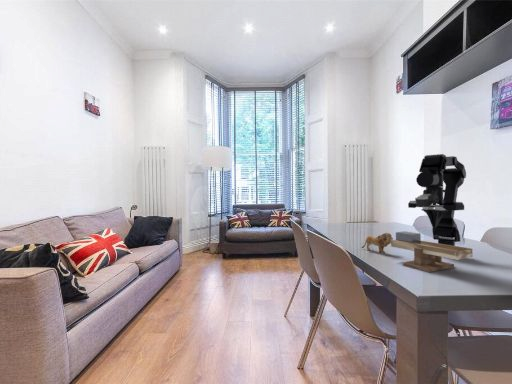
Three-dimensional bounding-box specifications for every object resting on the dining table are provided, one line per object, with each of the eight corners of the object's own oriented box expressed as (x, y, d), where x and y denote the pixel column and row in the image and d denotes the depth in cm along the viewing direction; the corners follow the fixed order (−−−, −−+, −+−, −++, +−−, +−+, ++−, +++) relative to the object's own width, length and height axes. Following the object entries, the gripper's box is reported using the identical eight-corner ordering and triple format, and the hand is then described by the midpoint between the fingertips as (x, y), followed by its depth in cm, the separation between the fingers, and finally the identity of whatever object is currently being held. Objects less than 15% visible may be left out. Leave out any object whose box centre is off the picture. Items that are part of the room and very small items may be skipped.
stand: (427, 260, 114) (427, 242, 113) (454, 266, 105) (454, 247, 104) (402, 265, 108) (402, 246, 107) (428, 272, 98) (428, 251, 98)
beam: (405, 244, 119) (405, 237, 119) (472, 256, 96) (472, 248, 96) (391, 246, 115) (390, 239, 115) (457, 259, 93) (457, 251, 93)
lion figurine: (394, 253, 127) (394, 232, 127) (388, 255, 123) (388, 234, 123) (364, 248, 138) (364, 229, 138) (357, 249, 135) (357, 230, 135)
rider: (404, 242, 117) (404, 231, 117) (420, 245, 111) (420, 233, 111) (395, 243, 115) (395, 232, 115) (412, 246, 109) (412, 234, 109)
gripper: (398, 187, 118) (399, 226, 118) (445, 187, 101) (446, 232, 101) (417, 187, 122) (417, 224, 123) (465, 186, 105) (465, 230, 106)
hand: (434, 227), depth 113 cm, fingers closed
